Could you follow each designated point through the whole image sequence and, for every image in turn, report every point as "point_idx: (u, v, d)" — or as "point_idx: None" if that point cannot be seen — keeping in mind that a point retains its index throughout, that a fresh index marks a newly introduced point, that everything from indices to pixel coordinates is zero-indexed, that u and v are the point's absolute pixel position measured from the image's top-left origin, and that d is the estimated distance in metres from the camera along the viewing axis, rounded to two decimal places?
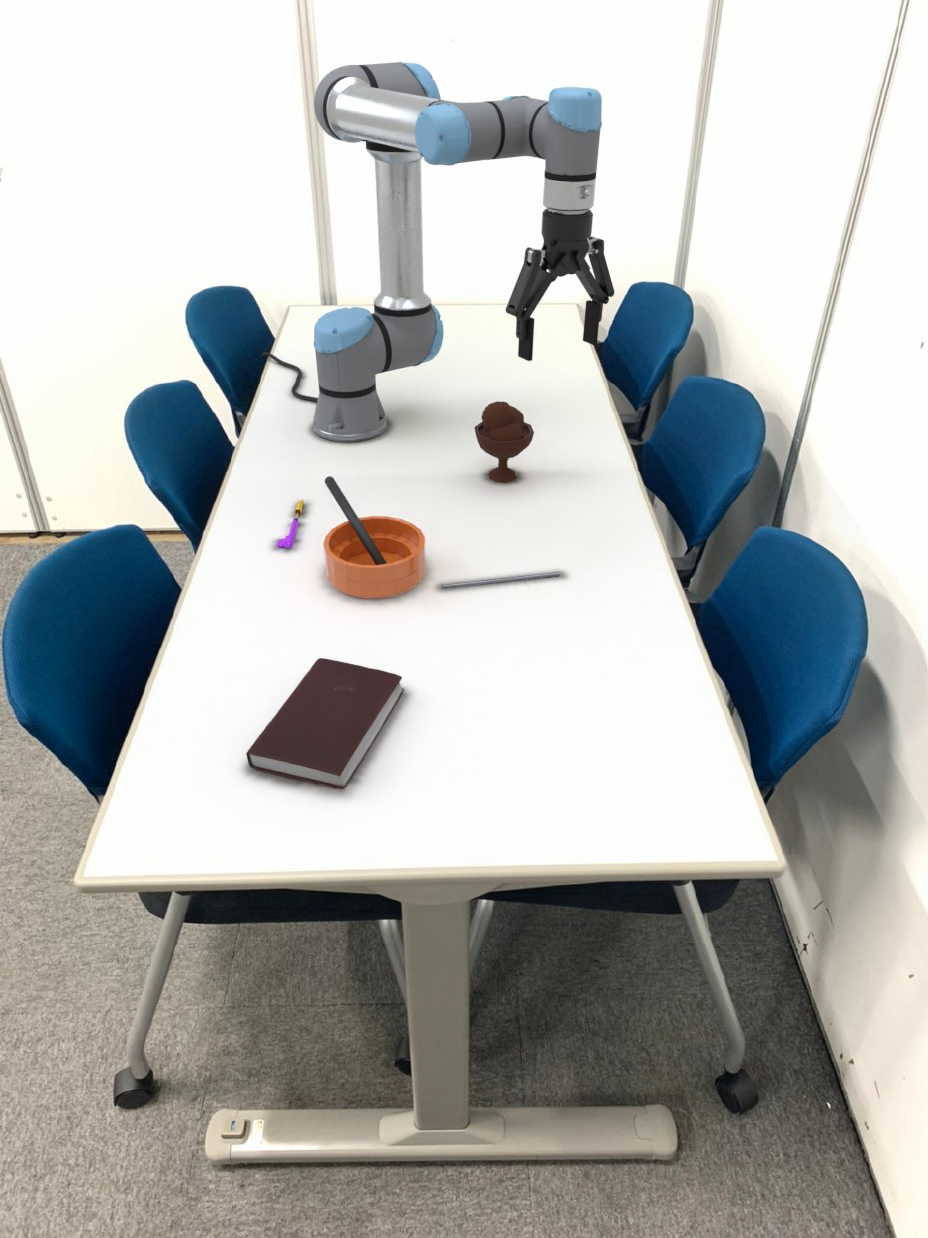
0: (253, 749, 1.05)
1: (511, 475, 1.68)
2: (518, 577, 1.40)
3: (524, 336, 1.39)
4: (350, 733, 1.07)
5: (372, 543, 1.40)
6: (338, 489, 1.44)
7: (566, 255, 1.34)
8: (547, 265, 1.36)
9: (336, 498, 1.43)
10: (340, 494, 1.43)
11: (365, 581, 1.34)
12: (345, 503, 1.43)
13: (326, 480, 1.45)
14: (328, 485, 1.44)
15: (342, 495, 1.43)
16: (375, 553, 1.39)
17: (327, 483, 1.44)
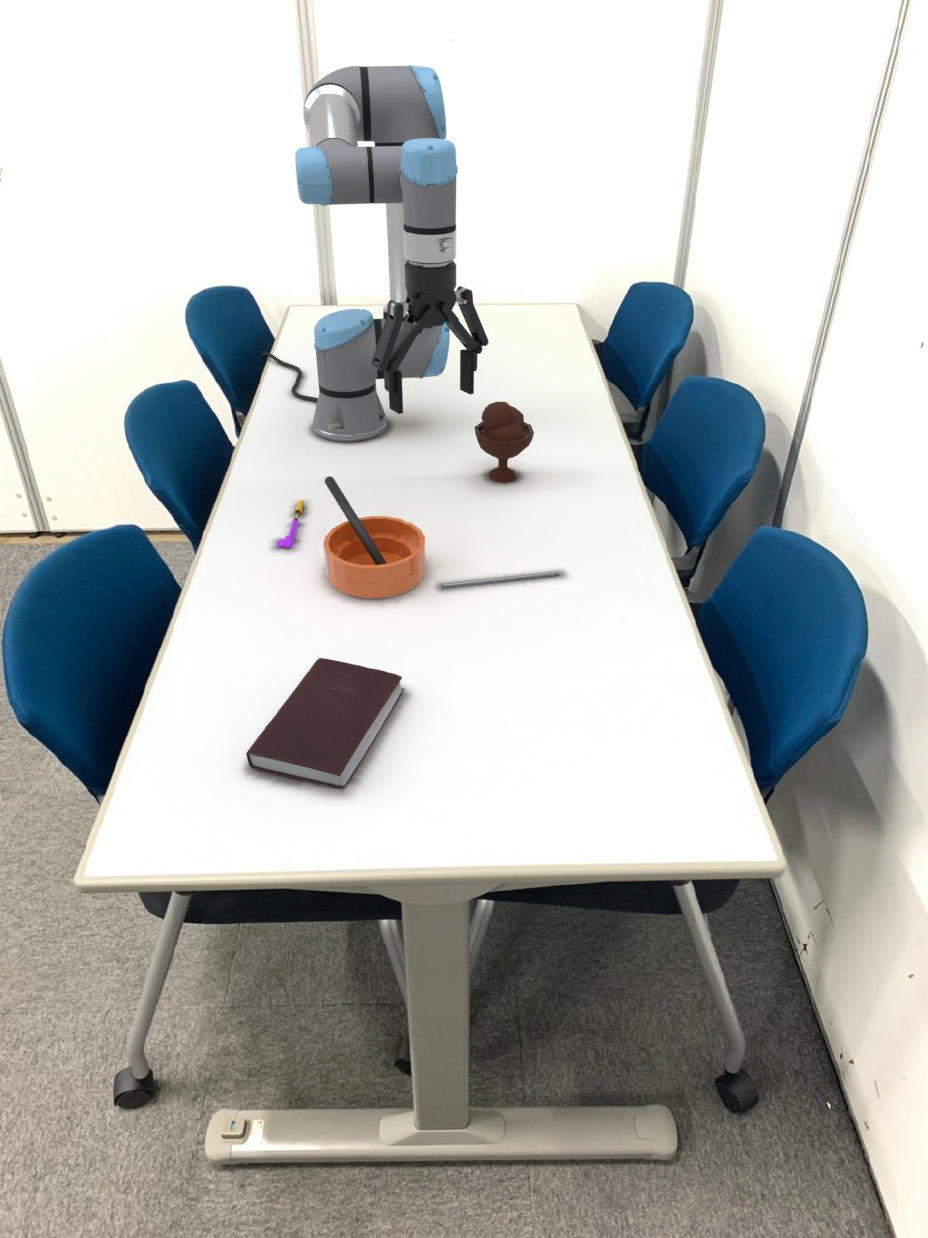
0: (253, 749, 1.05)
1: (511, 475, 1.68)
2: (518, 576, 1.40)
3: (392, 389, 1.35)
4: (350, 733, 1.07)
5: (372, 543, 1.40)
6: (338, 489, 1.44)
7: (430, 307, 1.31)
8: (413, 317, 1.32)
9: (336, 498, 1.43)
10: (340, 494, 1.43)
11: (365, 581, 1.34)
12: (345, 503, 1.43)
13: (326, 480, 1.45)
14: (328, 485, 1.44)
15: (342, 495, 1.43)
16: (375, 553, 1.39)
17: (327, 483, 1.44)
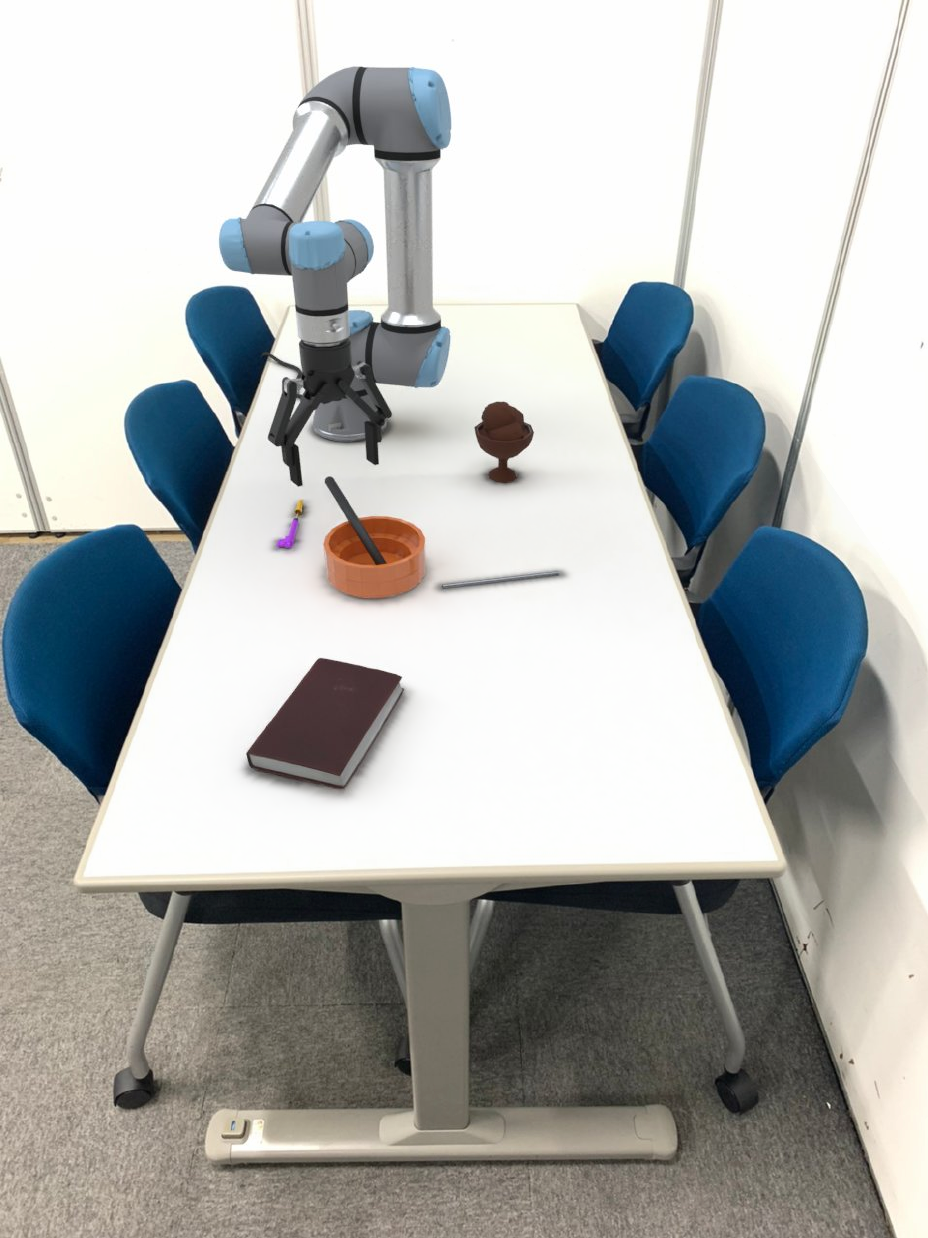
0: (253, 749, 1.05)
1: (511, 475, 1.68)
2: (518, 576, 1.41)
3: (290, 463, 1.35)
4: (350, 733, 1.07)
5: (372, 543, 1.40)
6: (338, 489, 1.44)
7: (325, 384, 1.31)
8: (309, 393, 1.33)
9: (336, 498, 1.43)
10: (340, 494, 1.43)
11: (365, 581, 1.34)
12: (345, 503, 1.43)
13: (326, 480, 1.45)
14: (328, 485, 1.44)
15: (342, 495, 1.43)
16: (375, 553, 1.39)
17: (327, 483, 1.44)
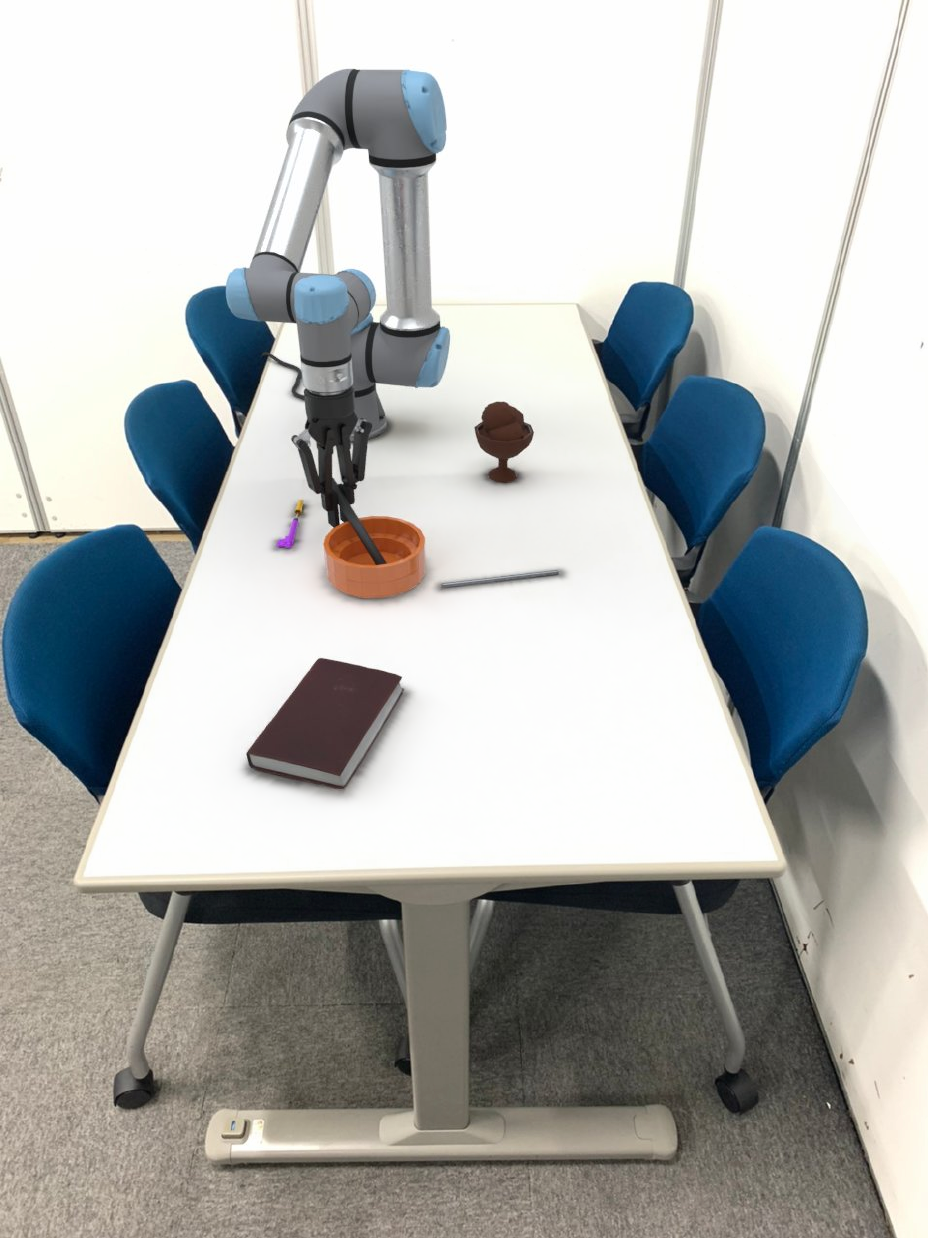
0: (253, 749, 1.05)
1: (511, 475, 1.68)
2: (517, 575, 1.41)
3: (329, 508, 1.44)
4: (350, 733, 1.07)
5: (372, 543, 1.40)
6: (338, 489, 1.44)
7: (329, 430, 1.35)
8: None
9: None
10: (340, 494, 1.43)
11: (365, 581, 1.34)
12: (346, 503, 1.43)
13: None
14: None
15: (342, 495, 1.43)
16: (375, 553, 1.39)
17: None
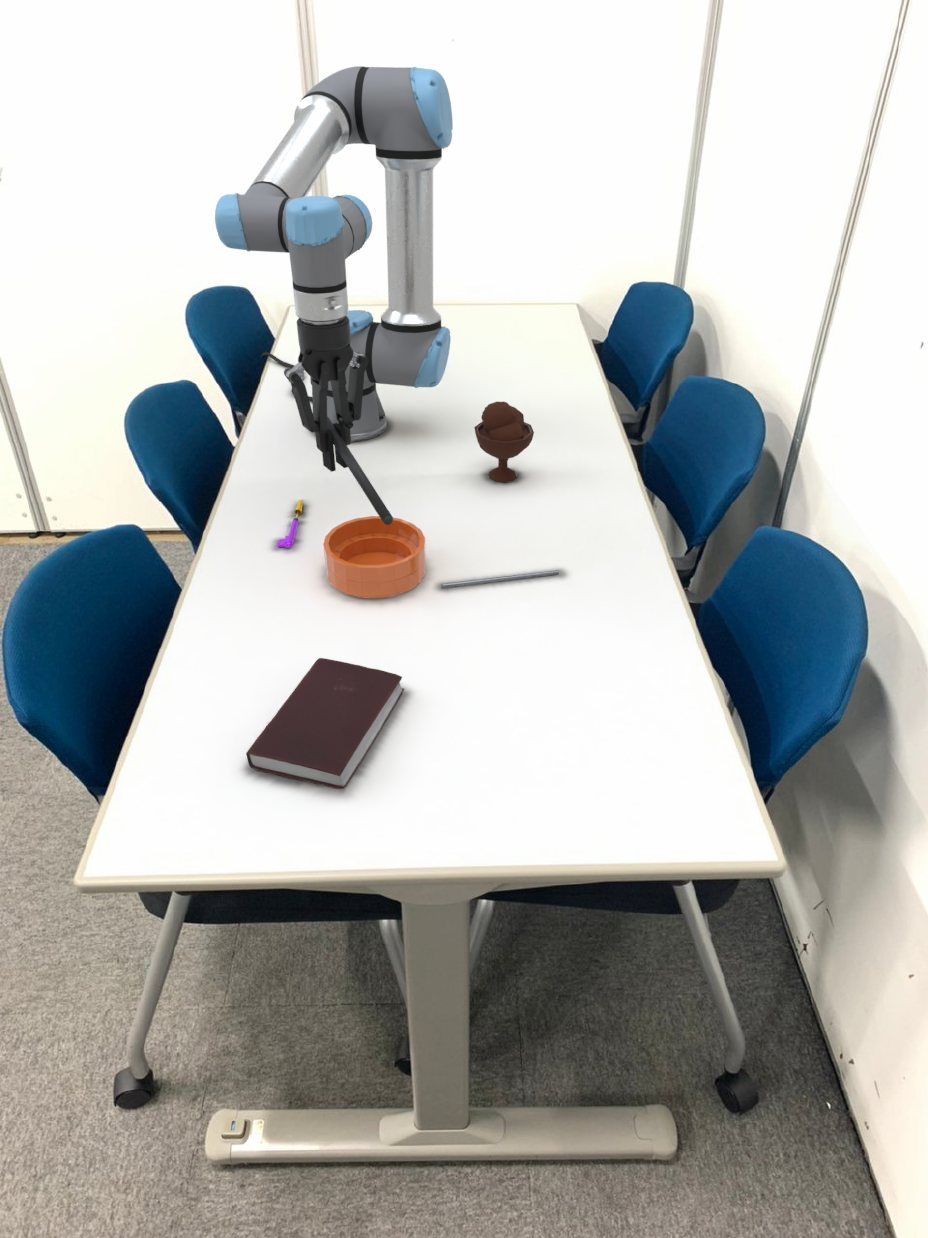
0: (253, 749, 1.05)
1: (511, 475, 1.68)
2: (517, 576, 1.41)
3: (324, 448, 1.38)
4: (350, 733, 1.07)
5: (369, 483, 1.34)
6: (333, 428, 1.38)
7: (324, 363, 1.29)
8: None
9: None
10: (335, 433, 1.37)
11: (365, 581, 1.34)
12: (341, 442, 1.37)
13: None
14: None
15: (338, 434, 1.38)
16: (372, 493, 1.33)
17: None
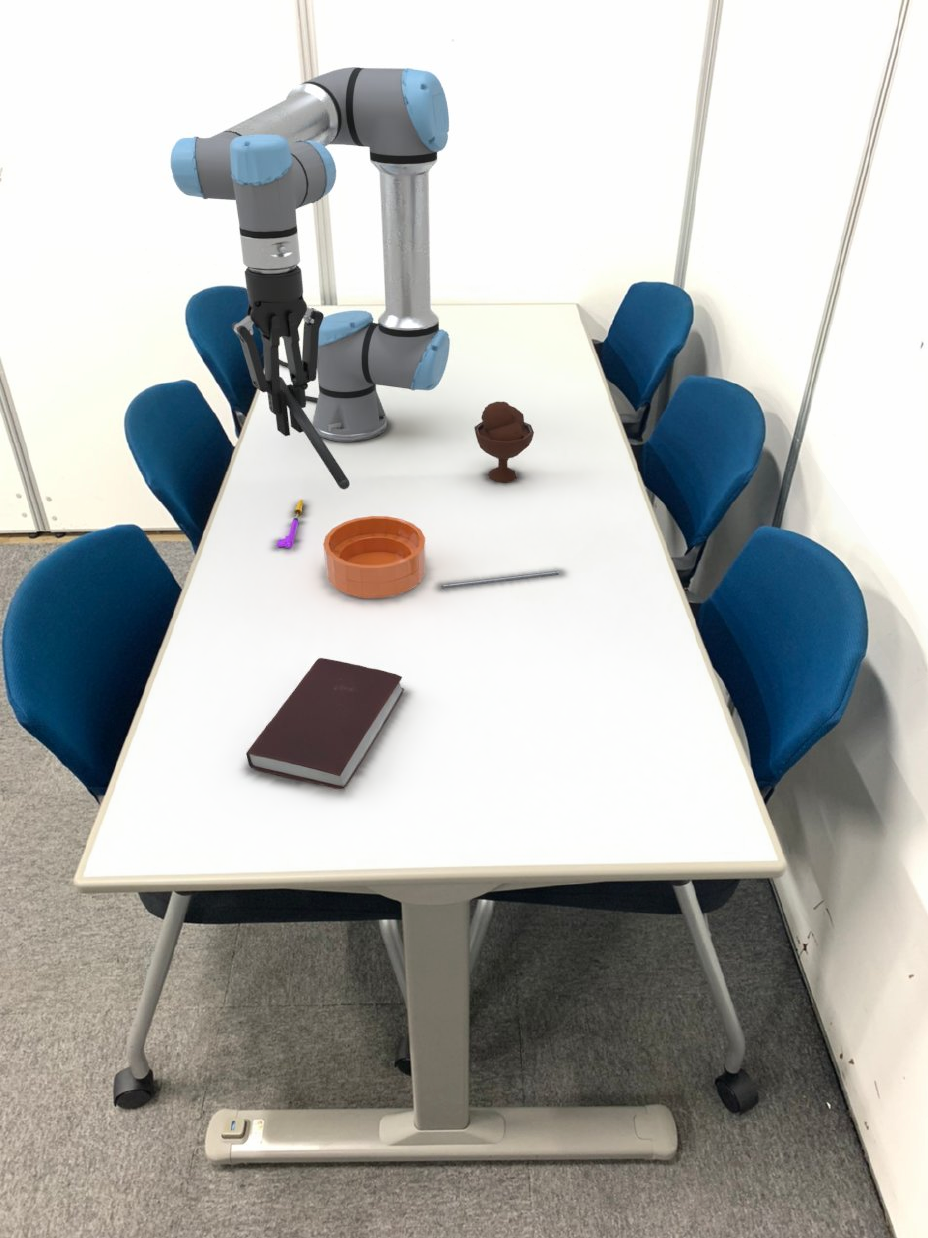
0: (253, 749, 1.05)
1: (511, 475, 1.68)
2: (517, 576, 1.41)
3: (277, 411, 1.30)
4: (350, 733, 1.07)
5: (324, 446, 1.26)
6: (287, 389, 1.30)
7: (274, 317, 1.21)
8: None
9: None
10: (289, 394, 1.29)
11: (365, 581, 1.34)
12: (295, 403, 1.29)
13: None
14: None
15: (292, 396, 1.29)
16: (327, 456, 1.25)
17: None
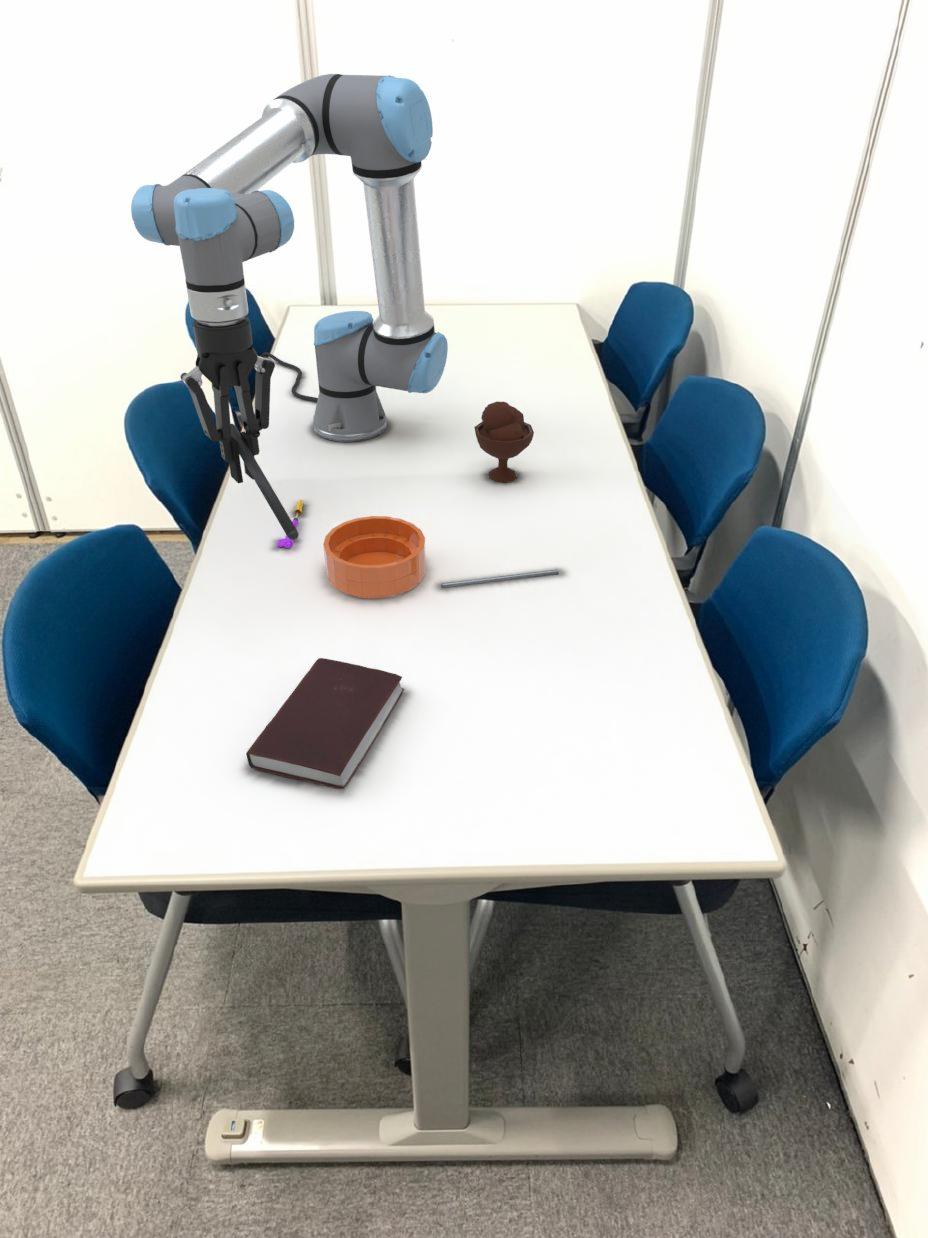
0: (253, 749, 1.05)
1: (511, 475, 1.68)
2: (517, 575, 1.41)
3: (229, 459, 1.29)
4: (350, 733, 1.07)
5: (274, 496, 1.25)
6: (239, 437, 1.29)
7: (223, 368, 1.21)
8: None
9: None
10: (241, 442, 1.29)
11: (365, 581, 1.34)
12: (247, 452, 1.28)
13: None
14: None
15: (243, 444, 1.29)
16: (276, 506, 1.24)
17: None
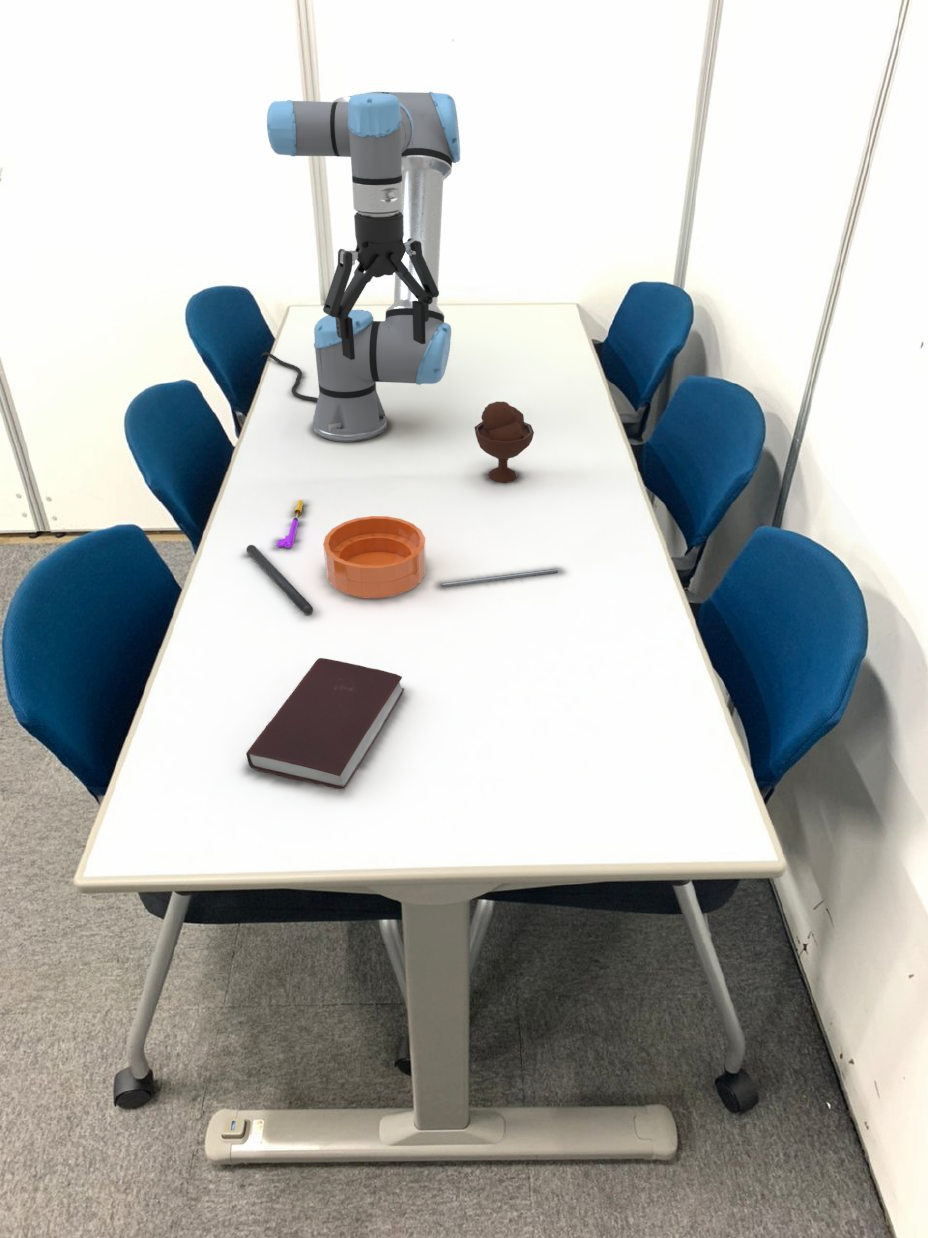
0: (253, 749, 1.05)
1: (511, 475, 1.68)
2: (517, 574, 1.41)
3: (344, 335, 1.42)
4: (350, 733, 1.07)
5: None
6: None
7: (379, 256, 1.38)
8: (363, 266, 1.39)
9: (260, 555, 1.43)
10: (264, 556, 1.44)
11: (365, 581, 1.34)
12: (269, 562, 1.43)
13: (252, 545, 1.46)
14: (253, 547, 1.45)
15: None
16: None
17: (252, 546, 1.45)
